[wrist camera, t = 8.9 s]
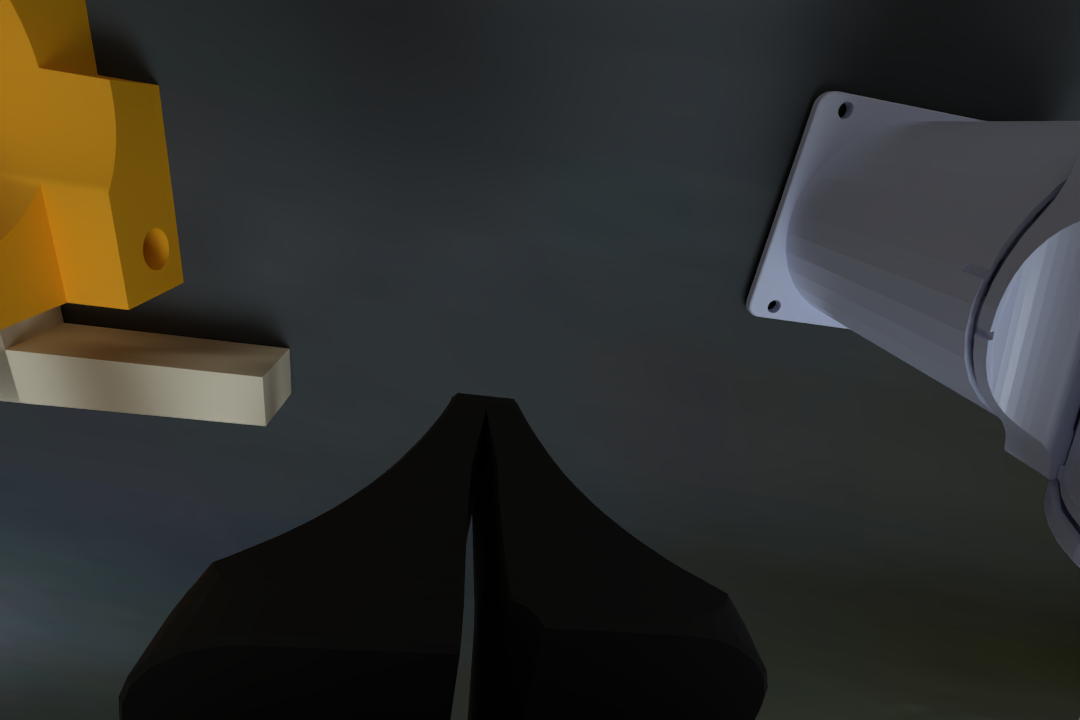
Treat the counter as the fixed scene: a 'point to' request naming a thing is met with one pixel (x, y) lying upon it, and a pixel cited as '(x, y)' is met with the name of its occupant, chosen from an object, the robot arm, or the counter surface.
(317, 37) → the counter surface
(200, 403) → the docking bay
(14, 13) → the pipe clamp
